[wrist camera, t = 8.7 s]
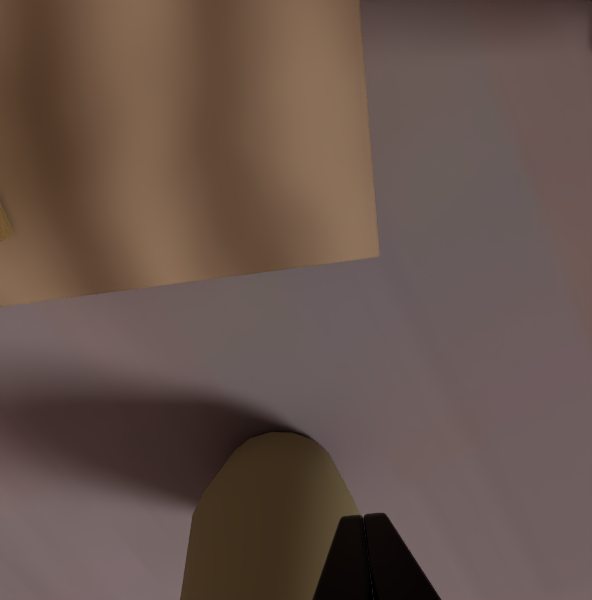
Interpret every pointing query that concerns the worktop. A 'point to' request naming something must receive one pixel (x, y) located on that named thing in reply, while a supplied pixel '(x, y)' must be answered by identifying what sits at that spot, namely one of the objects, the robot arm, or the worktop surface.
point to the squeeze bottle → (266, 522)
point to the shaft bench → (179, 142)
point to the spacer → (4, 226)
